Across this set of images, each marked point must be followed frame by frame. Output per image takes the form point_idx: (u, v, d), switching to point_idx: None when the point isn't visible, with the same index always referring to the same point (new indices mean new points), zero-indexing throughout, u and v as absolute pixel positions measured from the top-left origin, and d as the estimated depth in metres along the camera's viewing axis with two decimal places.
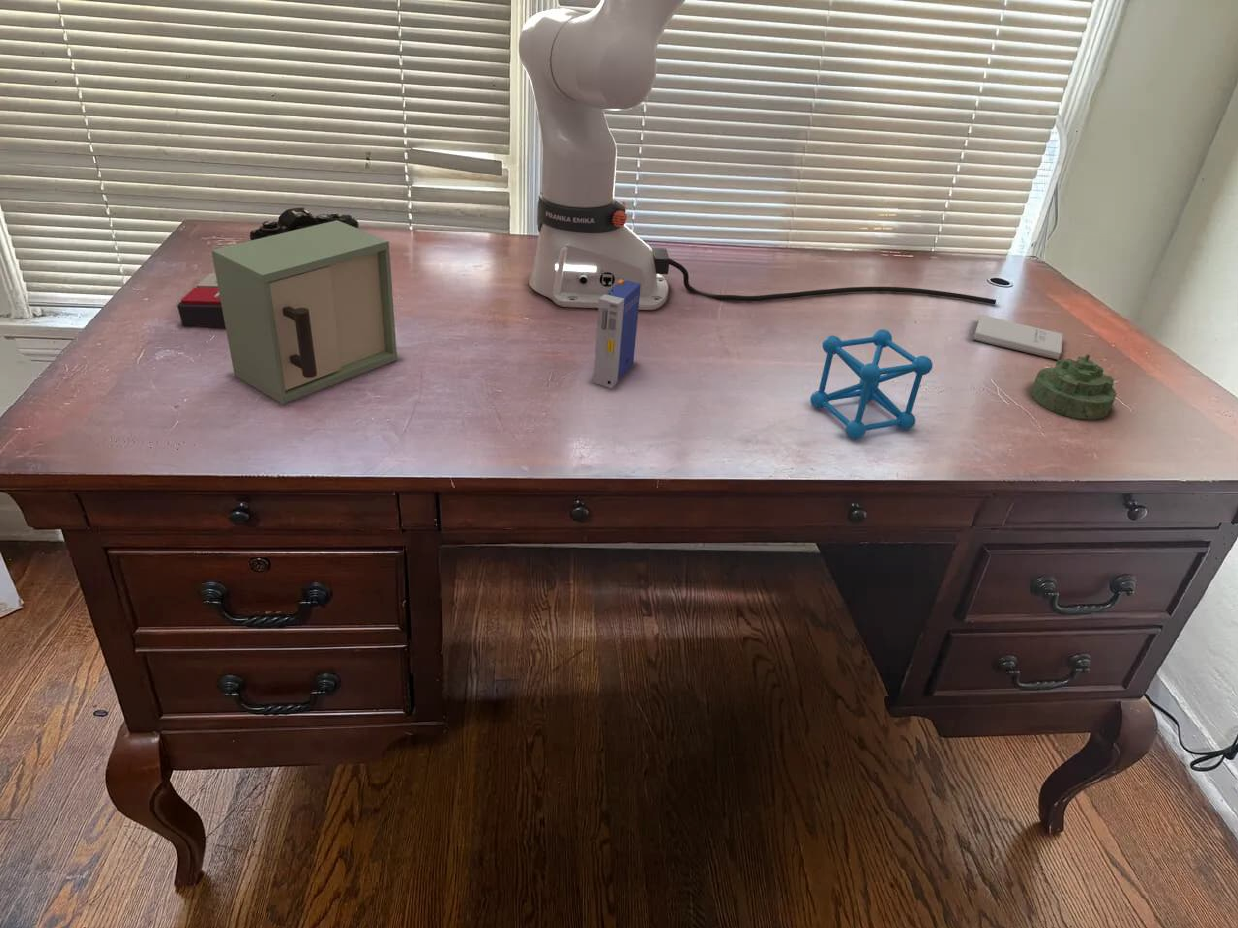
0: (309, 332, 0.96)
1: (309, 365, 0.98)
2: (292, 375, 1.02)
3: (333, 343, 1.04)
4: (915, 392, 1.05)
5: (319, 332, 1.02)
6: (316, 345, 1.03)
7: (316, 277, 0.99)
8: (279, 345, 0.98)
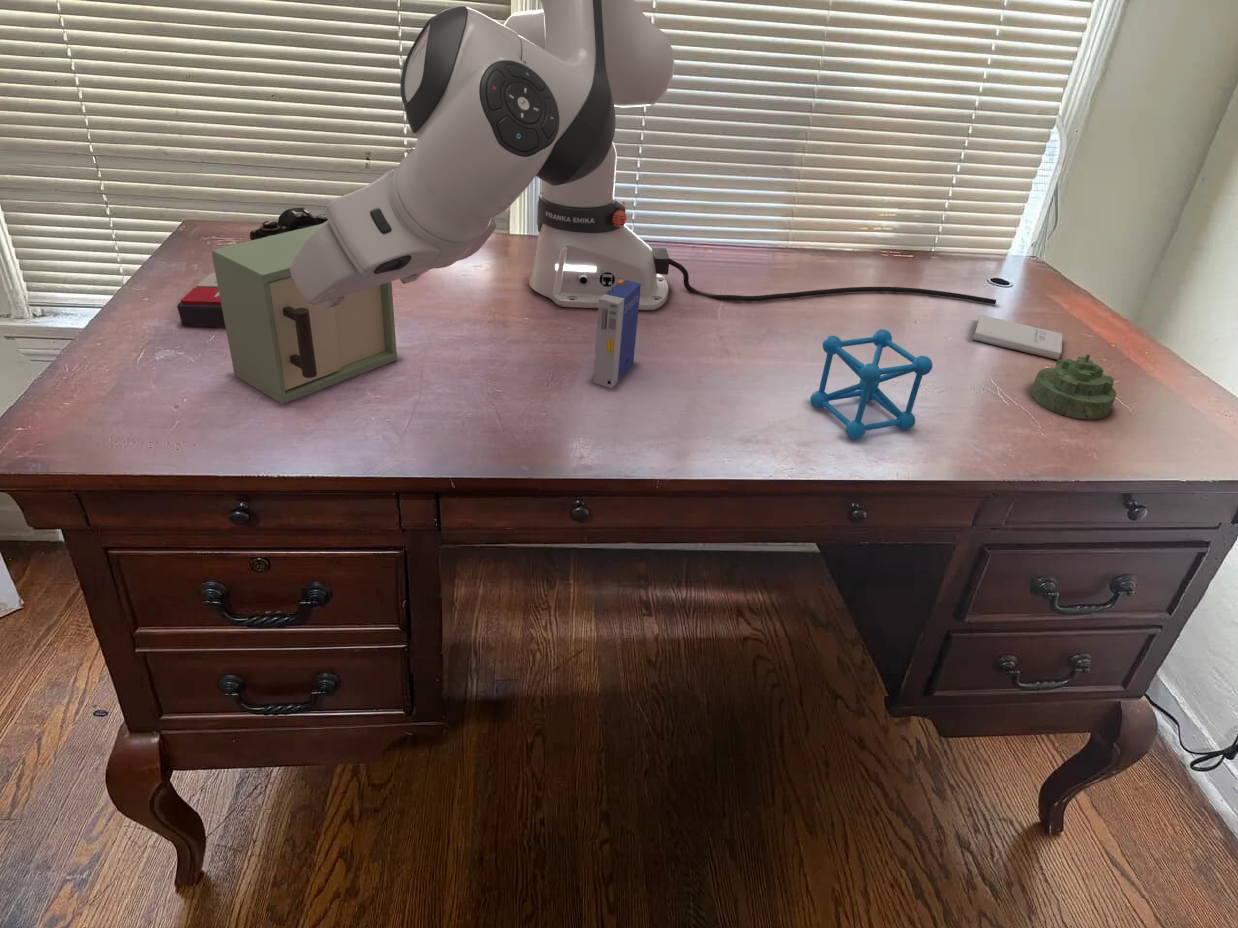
0: (309, 332, 0.96)
1: (309, 365, 0.98)
2: (292, 375, 1.02)
3: (333, 343, 1.04)
4: (915, 392, 1.05)
5: (319, 332, 1.02)
6: (316, 345, 1.03)
7: None
8: (279, 345, 0.98)
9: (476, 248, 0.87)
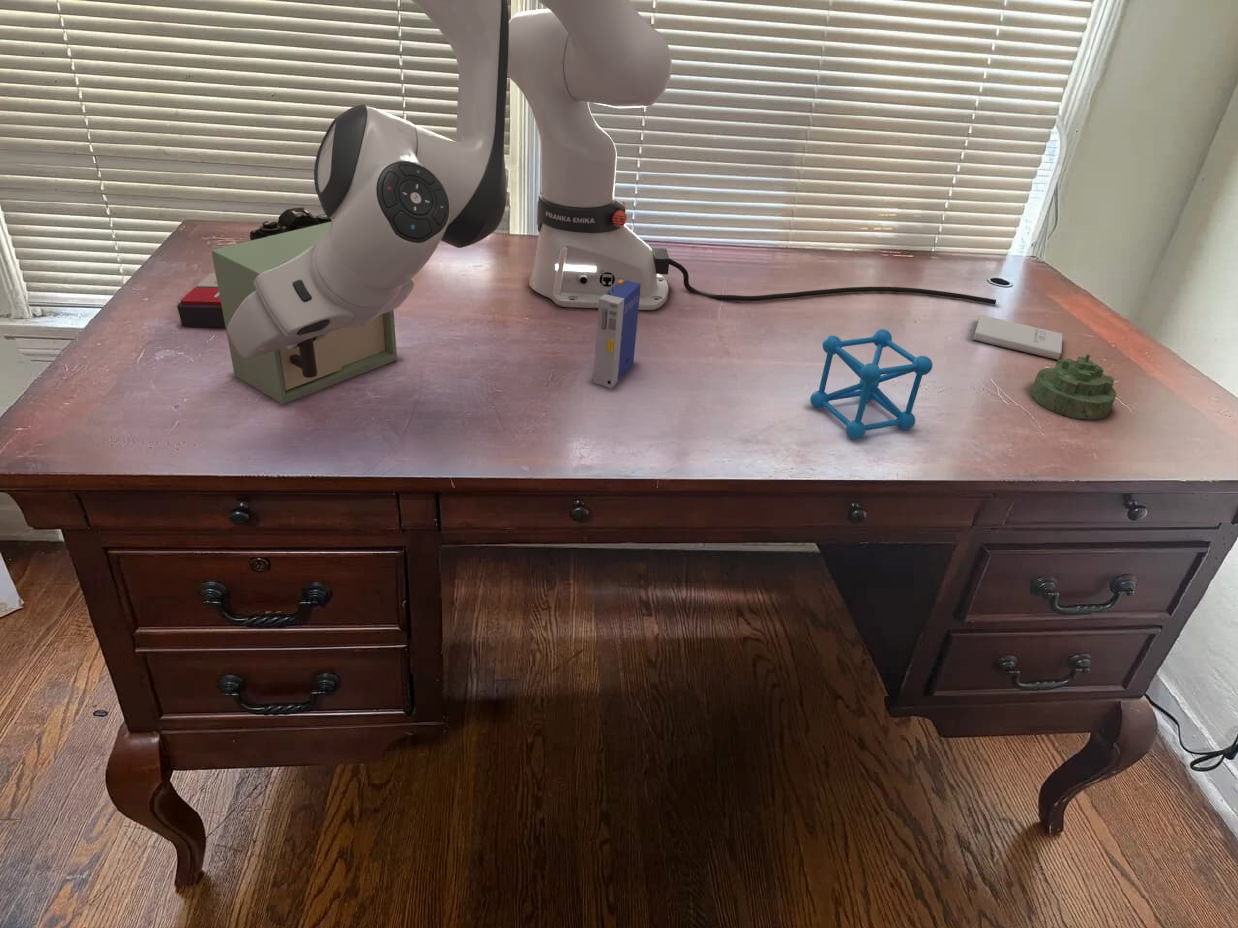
0: None
1: (309, 365, 0.98)
2: (292, 375, 1.02)
3: (333, 343, 1.04)
4: (915, 392, 1.05)
5: None
6: (316, 345, 1.03)
7: None
8: None
9: (398, 303, 0.99)
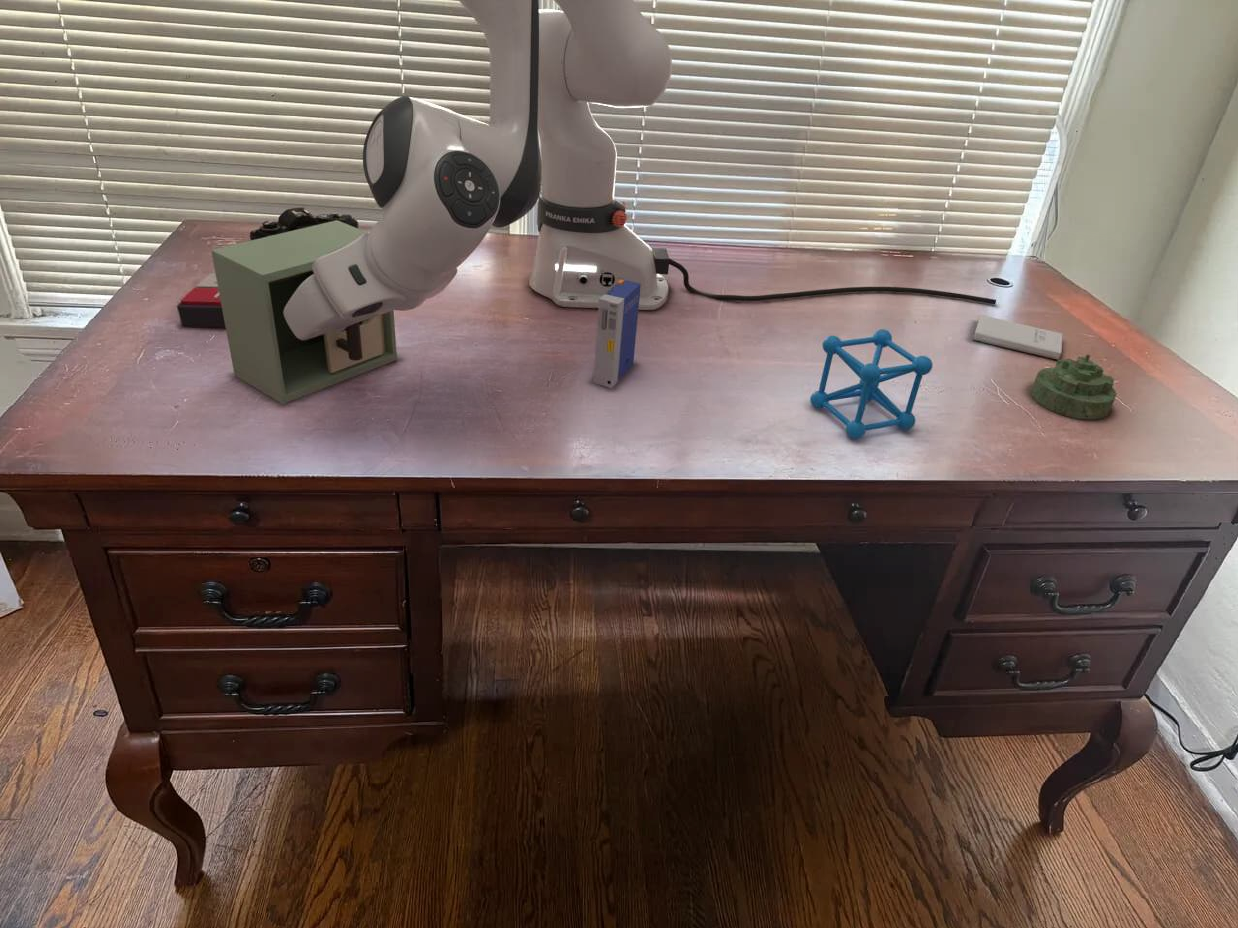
0: None
1: (355, 348, 1.03)
2: (338, 358, 1.06)
3: (376, 328, 1.09)
4: (915, 392, 1.05)
5: None
6: (361, 330, 1.07)
7: None
8: None
9: (441, 289, 1.03)
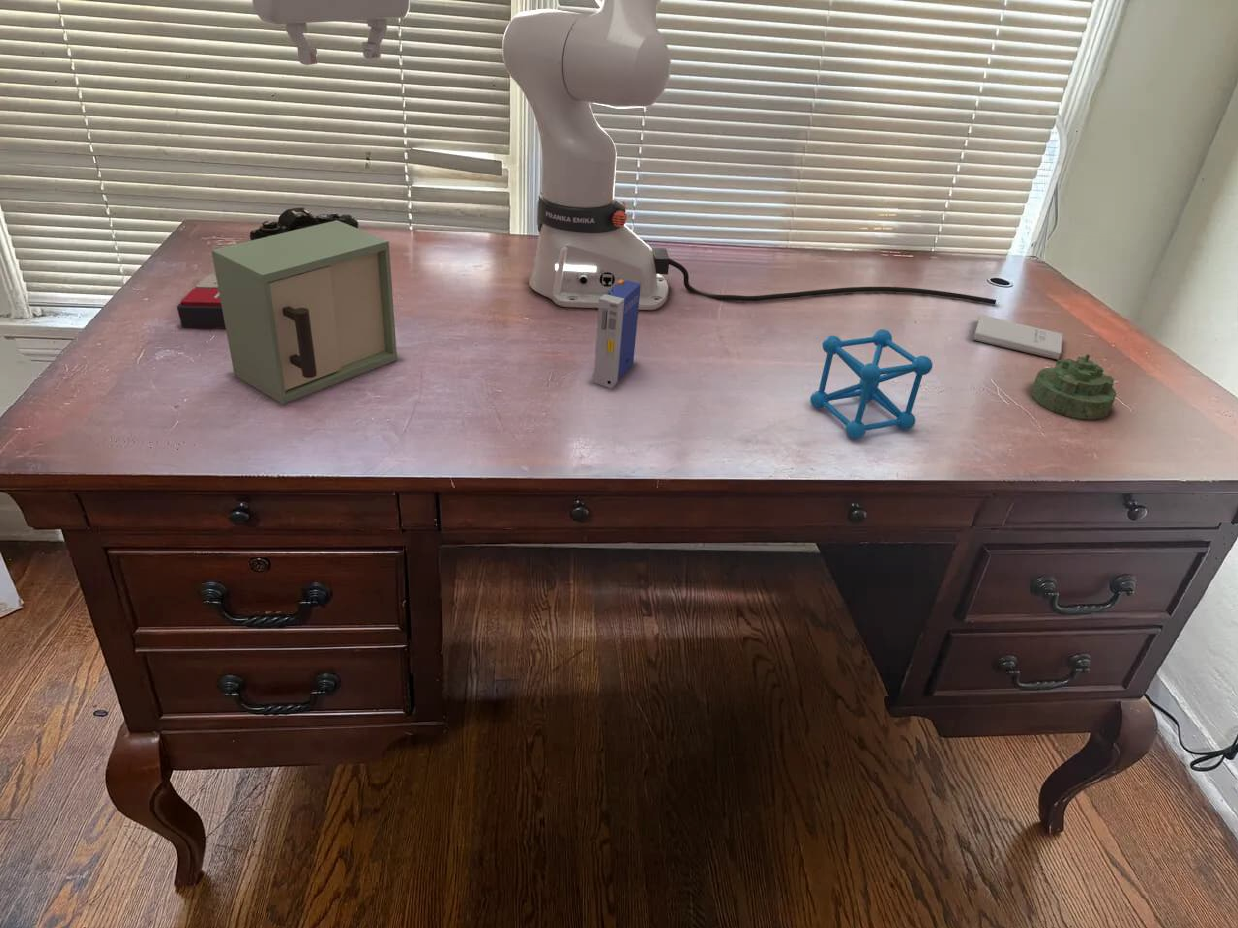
0: (309, 333, 0.96)
1: (309, 365, 0.98)
2: (292, 375, 1.02)
3: (333, 343, 1.04)
4: (915, 392, 1.05)
5: (318, 332, 1.02)
6: (316, 345, 1.03)
7: (316, 277, 0.99)
8: (279, 345, 0.98)
9: None
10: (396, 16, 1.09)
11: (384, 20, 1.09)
